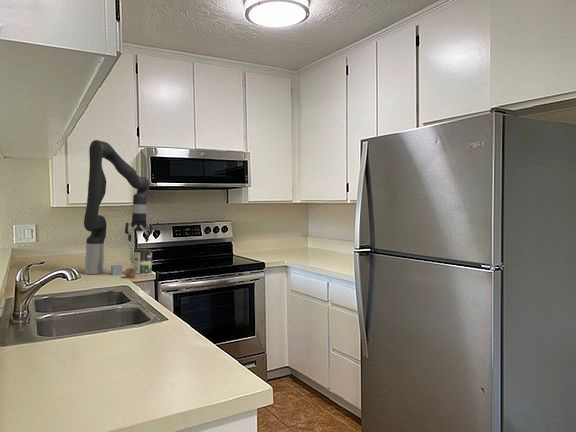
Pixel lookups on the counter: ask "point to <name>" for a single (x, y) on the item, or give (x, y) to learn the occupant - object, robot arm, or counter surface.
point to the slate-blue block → (116, 269)
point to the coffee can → (143, 261)
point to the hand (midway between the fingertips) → (138, 241)
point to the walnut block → (130, 272)
